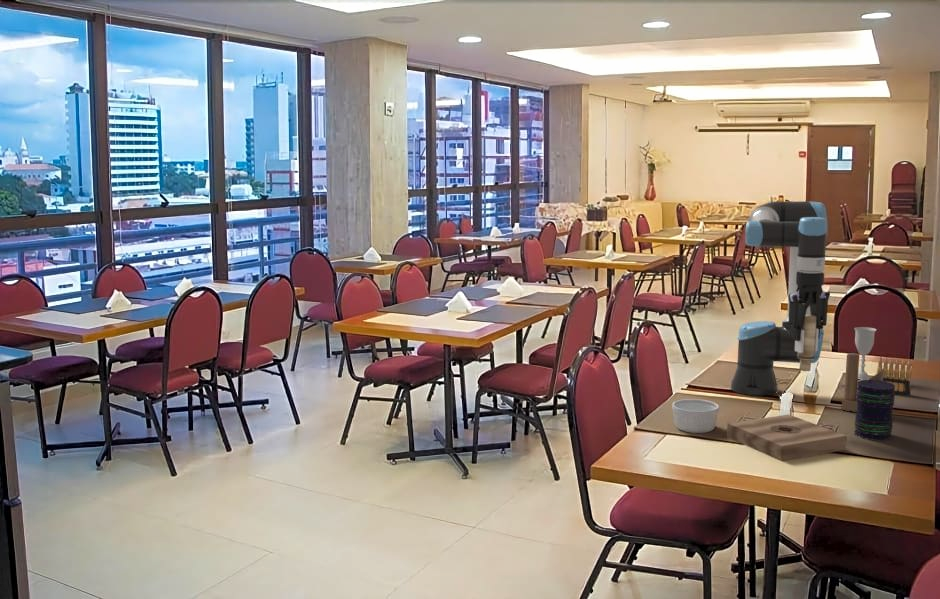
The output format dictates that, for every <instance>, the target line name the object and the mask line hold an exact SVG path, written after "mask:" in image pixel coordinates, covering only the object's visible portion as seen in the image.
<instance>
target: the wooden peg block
mask: <svg viewBox="0 0 940 599" xmlns="http://www.w3.org/2000/svg"><path fill="white" fill-rule="evenodd" d="M845 362H846V365H845V380H844V394H843V395H844V396H843V399H842V401H841V411H843V410H845V412H850V411H852V412H851V413H856V412H857V400H856V398H857V387H858V382H859V380H858V372H859V371H860V370H859V369H860V368H859V366H860V353H855V352H849V353H847V354H846V361H845ZM883 374H884V369H883V368H882V370H881V371H880V372H878V373H877V372H876V374H874V375H873V376H872V377H869V380H877V381H883Z"/></svg>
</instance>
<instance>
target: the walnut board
mask: <svg viewBox="0 0 940 599" xmlns="http://www.w3.org/2000/svg"><path fill="white" fill-rule="evenodd" d="M726 438H729V439H731V440H734V441H736V442H737V443H740V444H742V445H745V446H747V447H749V448H752V449H754V450H756V451H758V452H760V453H763V454H765V455H766V456H767V455H768V456H769V457H771V458H774V459H776V460H779V461H781V462H782V461H787V460H788V461H789V460H794V459H798V458H804V457H811V456H817V455H823V454H831V453H835V452H842V450H843V451H846V450H847V449H846V446H847V435H845V434H843V433H840V432H837V431H834V430H833V429H832V430H831V429H830V428H826V427H824V426H821V425H818V424H816V423H813V422H811V421H808V420H805V419H802V418H800V417H798V416H794V415H792V414H783V415H775V416H767V417H762V418H755V419H749V420H747V419H746V420H740V421H733V422H727V428H726Z"/></svg>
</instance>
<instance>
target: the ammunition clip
mask: <svg viewBox="0 0 940 599" xmlns="http://www.w3.org/2000/svg"><path fill="white" fill-rule="evenodd" d="M882 359H883V358H882V356H880V357H879V358H878V363H877V368H876V374H877V373H878V372H880V371H881V370H882V369H884V374H883V381H884V382H889V383H892V384H894V385H895V389H894V391H895V395H897V394H902V395H901V396H905V395H910V396H911V391H912V390H911V389H912V388H911V386H912V384H911V382H912V362H911V359H908V362H907V364H906V362H905V359H902V361H901V364H900V360H899V358H896V359H895V360H896V361H895V364H894V358H893V357H891V358H890V361H889V362H888V358H887V357H885V358H884V361H883V360H882ZM900 365H901V366H900Z"/></svg>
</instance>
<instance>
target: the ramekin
mask: <svg viewBox="0 0 940 599" xmlns="http://www.w3.org/2000/svg"><path fill="white" fill-rule="evenodd" d="M671 404H672V406H671V407H672V413H673V422H674V423H673V424H674V426H676V428H677V429H678V430H680V431H683V432H687V433H693V434H694V433H695V434H699V433H700V434H703V433H709V432H712V431H713V430H714V429H715V427H716V425H717V420H718V413H719V410H720V406H719V405H718V404H717V403H715V402H714V401H710V400H706V399H697V398H687V399H686V398H685V399H679V400H676V401H674V402H672V403H671Z"/></svg>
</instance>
